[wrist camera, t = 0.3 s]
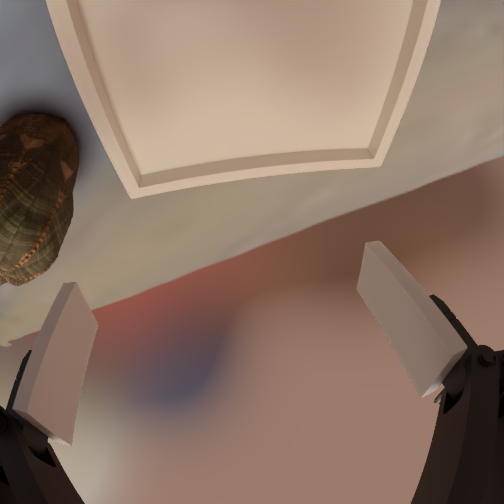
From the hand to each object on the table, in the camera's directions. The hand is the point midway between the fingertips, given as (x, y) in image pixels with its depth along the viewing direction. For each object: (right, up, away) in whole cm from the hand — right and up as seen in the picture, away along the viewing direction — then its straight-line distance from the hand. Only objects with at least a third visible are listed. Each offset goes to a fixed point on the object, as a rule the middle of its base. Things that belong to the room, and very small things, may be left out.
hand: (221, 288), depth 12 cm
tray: (+2, +16, +3) cm, 16 cm away
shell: (-18, +11, +6) cm, 22 cm away
